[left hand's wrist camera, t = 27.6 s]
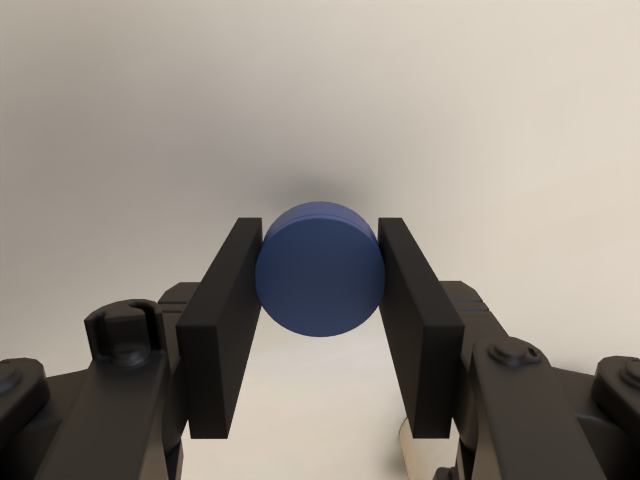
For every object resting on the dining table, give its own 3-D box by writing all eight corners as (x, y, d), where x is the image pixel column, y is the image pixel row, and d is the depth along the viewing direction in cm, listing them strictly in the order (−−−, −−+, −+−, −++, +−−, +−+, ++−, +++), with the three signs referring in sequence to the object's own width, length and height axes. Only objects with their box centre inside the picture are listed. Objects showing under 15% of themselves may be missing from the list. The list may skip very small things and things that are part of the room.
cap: (260, 199, 13) (251, 216, 12) (382, 202, 14) (391, 218, 12) (262, 307, 15) (255, 336, 13) (374, 310, 15) (381, 338, 13)
